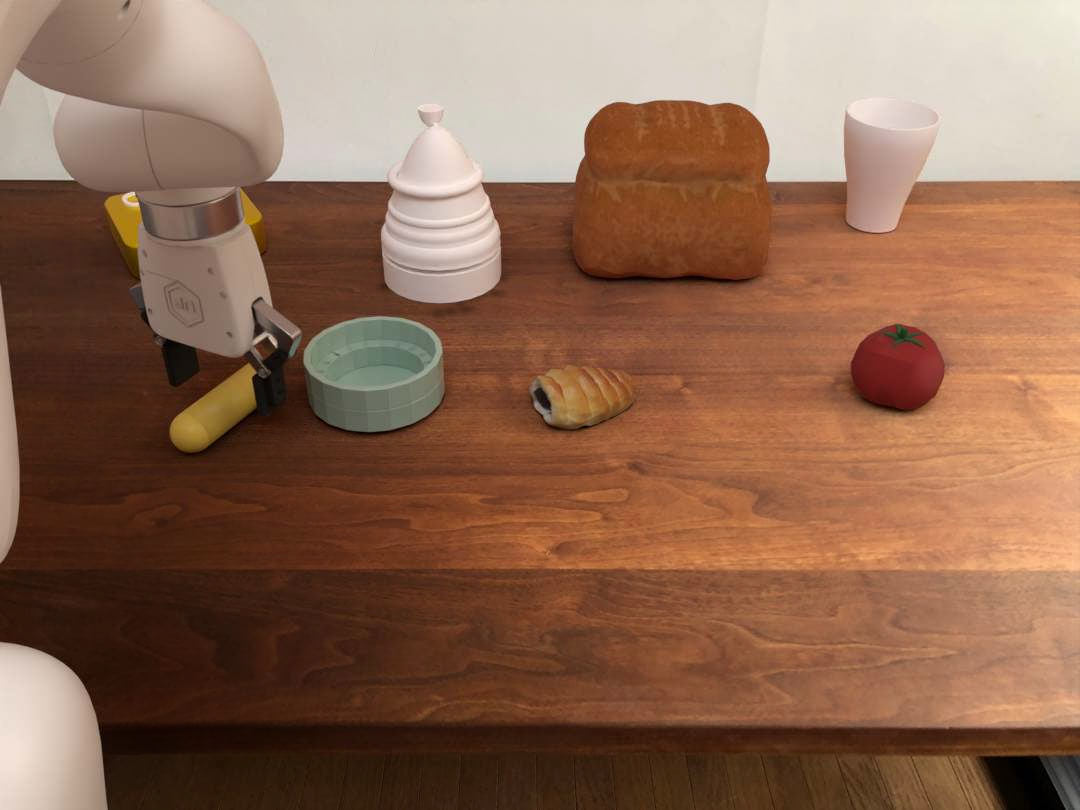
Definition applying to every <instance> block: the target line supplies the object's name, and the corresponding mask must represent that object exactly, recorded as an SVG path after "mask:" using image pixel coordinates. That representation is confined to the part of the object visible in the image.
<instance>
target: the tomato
mask: <svg viewBox="0 0 1080 810" xmlns="http://www.w3.org/2000/svg"><path fill="white" fill-rule="evenodd" d="M938 347H939V346H938V345H937V343H936V341H935V340H934V339H933V338H932V337H931V336H930V335H929V334H928V333H926V332H925V331H924V330H922V329H920V328H918V327H916V326H911V325H906V324H902V323H897V322H896V323H895V324H892V325H887V326H885V327H882V328H880V329H878V330H876V331H874V332H872V333H870V334H868V335H867V336H865V338H864V339H862V340H861V341H860V342H859V344H858V346H857V348H856V349H855V352H854V354H853V357H852V359H851V361H850V376H851V379H852V382H853V384H854V386H855V388H856V390H857V391H858V393H859V394H860V395H861V396H862V397H863V398H864V399H866V400H868V401H870V402H872V403H874V404H879V405H882V406H883V405H884V406H888V407H892V408H896V409H901V410H905V411H908V410H909V411H910V410H915V409H919V408H921V407H923V406H925V405H927V404H928V403H930V401H932V400H933V399H934V398H935V397H937V394H938V392H939V390H940V388H941V386H942V383H943V381H944V378H945V369H946V368H945V366H946V364H945V361H944V358H943V355H942V352H941V351H940V350H939V348H938Z"/></svg>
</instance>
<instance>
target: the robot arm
mask: <svg viewBox="0 0 1080 810" xmlns="http://www.w3.org/2000/svg"><path fill="white" fill-rule="evenodd" d="M15 69H16V71H18V72H19V73H20V74H21V75H23V76H24V77H26V78H27V79H29V80H31V82H33V83H36V84H38V85H40V86H42V87H43V88H46V89H49V90H51V91H53V92H54V91H55V92H57V93H61V94H64V96H63V98H62V99H61V102H60V104H59V106H58V109H57V111H56V113H55V115H54V120H53V129H52V131H53V141H54V146H55V150H56V152H57V155H58V159H59V161H60V163H61V165H62V167H63V168H64V170H65V171H66V172H67V174H68V175H69V176H70V178H72V179H73V180H74V181H75V182H76V183H78V184H80V185H81V186H83V187H85V188H87V189H90V190H93V191H98V192H105V193H130V192H135V196H136V197H137V198H138V202H139V207H140V211H141V215H142V220H143V221H142V222H140V224H139V226H138V260H139V270H140V278H141V279H140V282H139V283H137V284H136V285H134V286H132V287H130V288H129V289H128V294H129V296H130V298H131V299H132V301H133V302H134V305H135V306H136V307H137V309H138V310H139V311H141V312H140V317H141V319H142V321H143V322H144V323H145V324H146V325H147V327H148V328H149V329H150V330H151V331H152V332H153V334H152V339H153V341H154V343H155V344H156V345H157V346H159V347H161V354H162V358H163V362H164V367H165V370H166V375H167V379H168V383H169V386H171V387H174V388H178V387H181V386H182V385H183V384H184V383H186V382H187V381H189V380H190V379H192V378H193V377H195V376H196V375H198V374H199V373H200V372H201V367H200V362H199V357H198V353H197V349H199V350H202V351H205V352H209V353H212V354H214V355H215V354H216V355H219V356H222V357H226V358H230V359H238V358H241V357H243V358H244V359H246V361H247V362H248V363H249V364H250V365H251V366H252V368H253V369H254V370H255V371H256V374H255V375H253V377H252V383H253V388H254V394H255V400H256V405H257V408H256V410H257V413H258V415H259V416H261V417H264V418H266V417H268V416H270V415H271V414H272V413H273V412H274V411H276V410H277V409H278V408H280V407H281V406H282V405H283V404H285V403H286V402H287V401H288V398H289V397H288V396H289V395H288V389H287V384H286V383H287V382H286V377H285V373H284V372H285V371H284V367H283V365H284V366H285V365H286V364H287V363H288V362H289V361H290V360H291V359H293V357H294V356H296V354H297V353H298V348H299V345H300V344H301V343H300V342H301V340H302V337H303V332H302V329H300V327H298V326H297V325H296V324H295V323H293V322H291V320H289V319H288V318H287V317H285V316H284V315H283V314H281V313H280V312H279V311H278V310H277V309H275V308H274V307H273V301H272V296H271V291H270V287H269V281H268V277H267V274H266V271H265V267H264V263H263V260H262V256H261V254H260V253H259V250H258V247H257V244H256V241H255V238H254V236H253V233H252V231H251V228H250V226H249V225H247V224H245V217H244V211H243V205H242V199H241V193H240V188H242V187H252V186H255V185H259V184H261V183H264V182H266V181H267V180H269V179H270V178H271V177H272V176H273V175H274V174H275V173H276V172H277V170H278V168H279V167H280V164H281V161H282V158H283V153H284V146H285V131H284V124H283V117H282V112H281V106H280V103H279V100H278V96H277V93H276V90H275V87H274V85H273V81H272V79H271V76H270V73H269V70H268V67H267V64H266V62H265V59H264V56H263V53H262V52H261V50H260V49H259V46H258V45H257V43H256V41H255V39H254V38H253V37H252V35H251V34H249V32H248V31H247V30H246V28H244V26H242V25H241V24H240V23H239V22H238V21H237V20H235V19H234V18H233V17H232V16H230V15H229V14H227V13H225V12H224V11H222V10H221V9H219V8H218V7H216V6H214V5H212V4H210V3H209V2H207V1H206V0H0V106H2V102H3V99H4V96H5V93H6V90H7V87H8V85H9V83H10V81H11V78H12V76H13V74H14V72H15ZM2 295H3V294H2V287H1V285H0V564H2V562H3V561H4V560H5V558H6V556H7V555H8V553H9V551H10V549H11V548H12V545H13V542H14V540H15V539H14V538H15V536H16V531H17V527H18V521H19V511H20V510H19V509H20V498H21V497H20V493H21V492H20V491H21V490H20V484H21V482H20V481H21V480H20V479H21V478H20V477H21V476H20V472H21V471H20V470H21V469H20V468H21V467H20V457H19V453H20V452H19V440H18V429H17V428H18V427H17V419H16V411H15V410H16V409H15V402H14V391H13V384H12V374H11V373H12V372H11V366H10V365H11V364H10V356H9V346H8V338H7V329H6V321H5V314H4V303H3V296H2ZM254 335H255V336H254ZM259 344H261V346H262V347H263V348H264V350H265V351H266V352H267V353H268V356H267V357H266V358H264V357H263V356H262V355H261V353H260V352H259V350H258V349H257V348H256V346H257V345H259ZM102 748H103V747H102V740H101V734H100V729H99V723H98V718H97V714H96V711H95V709H94V706H93V703H92V700H91V697H90V695H89V693H88V690H87V689H86V686H85V685H84V684H83V682H82V680H81V679H80V678H79V676H78V675H77V674H76V673H75V672H74V671H73V670H72V669H71V668H70V667H69V666H68V665H66V663H64V662H62V661H61V660H59V659H57V658H56V657H54V656H53V655H50V654H48V653H46V652H44V651H42V650H39V649H37V648H34V647H30V646H26V645H21V644H18V643H11V642H3V641H0V810H108V802H107V801H108V800H107V792H106V781H105V771H104V770H105V769H104V761H103V760H104V758H103V749H102Z"/></svg>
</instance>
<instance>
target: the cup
mask: <svg viewBox="0 0 1080 810" xmlns="http://www.w3.org/2000/svg"><path fill="white" fill-rule="evenodd" d="M844 112H845V113H844V124H843V159H844V167H845V176H846V177H845V178H846V210H845V221H846V223H847V224H848V225H849V226H850V227H852V228H853V229H855V230H858V231H860V232H864V233H869V234H870V233H871V234H885V233H889V232H892V231H894V230H895V229H897V226H898V223H899V220H900V218H901V215H902V212H903V210H904V207H905V204H906V202H907V201H908V198H909V195H910V193H912V192H911V191H912V190H913V188H914V186H915V184H916V182H917V181H918V179H919V176H920V175H921V173H922V171H923V169H924V168H925V167H924V166H926V163H927V160H928V158H929V155H930V153H931V152H932V149H933V146H934V144H935V141H936V138H937V136H938V132H939V130H940V125H941V123H942V117H941V114H940V113H939V112H938V111H937V110H936V109H934V108H932V107H930V106H928V105H926V104H922V103H919V102H917V101H912V100H908V99H902V98H894V97H869V98H863V99H862V98H861V99H859V100H855V101H853V102H851V103H850V104H848V105H847V106H846V108H845V111H844Z"/></svg>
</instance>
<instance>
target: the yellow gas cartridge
mask: <svg viewBox="0 0 1080 810" xmlns="http://www.w3.org/2000/svg"><path fill="white" fill-rule="evenodd" d="M284 367H285V364H284V365H283V368H284ZM255 374H256V371H255V370H254V369H253V368H252V366H251V365H250V364H249V362H248V363H246V364H245V365H244V366H243V367H241V368H240V369H238V370H237V371H236V372H234V373H233V374H232V375H230V376H229V377H227V378H226V379H224V380H223V381H222V382H221V383H219V384H218V385H217V386H215V387H214V388H213V389H211V390H210V391H209V392H207V393H206V394H205V395H203V396H202V397H200V398H199V399H198V400H196V401H195V402H193V403H192V404H191V405H190V406H188V407H187V408H185V409H184V410H183V411H181V412H180V413H179V414H177V415H176V416H175V417H174V419H173V420H172V422H171V423H170V425H169V426H170V427H169V436H170V440H171V441H170V442H171V443H172V445H174V447H176V448H177V449H178V450H179V451H182V452H184V453H189V454H195V453H199V452H203V451H204V450H206V449H207V448H208V447H209V446H211V445H212V444H213V443H215V442H216V441H217V440H218V439H220V438H221V437H222V436H223V435H225V433H228V432H229V431H230V430H231V429H232V428H233V427H235V426H236V425H237V424H238V423H240V422H241V421H242V420H243V419H245V418H247V416H249V415H250V414H251V413H252V412H253V411H254V410H257V405H256V400H255V394H254V388H253V383H252V377H253V375H255Z"/></svg>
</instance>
